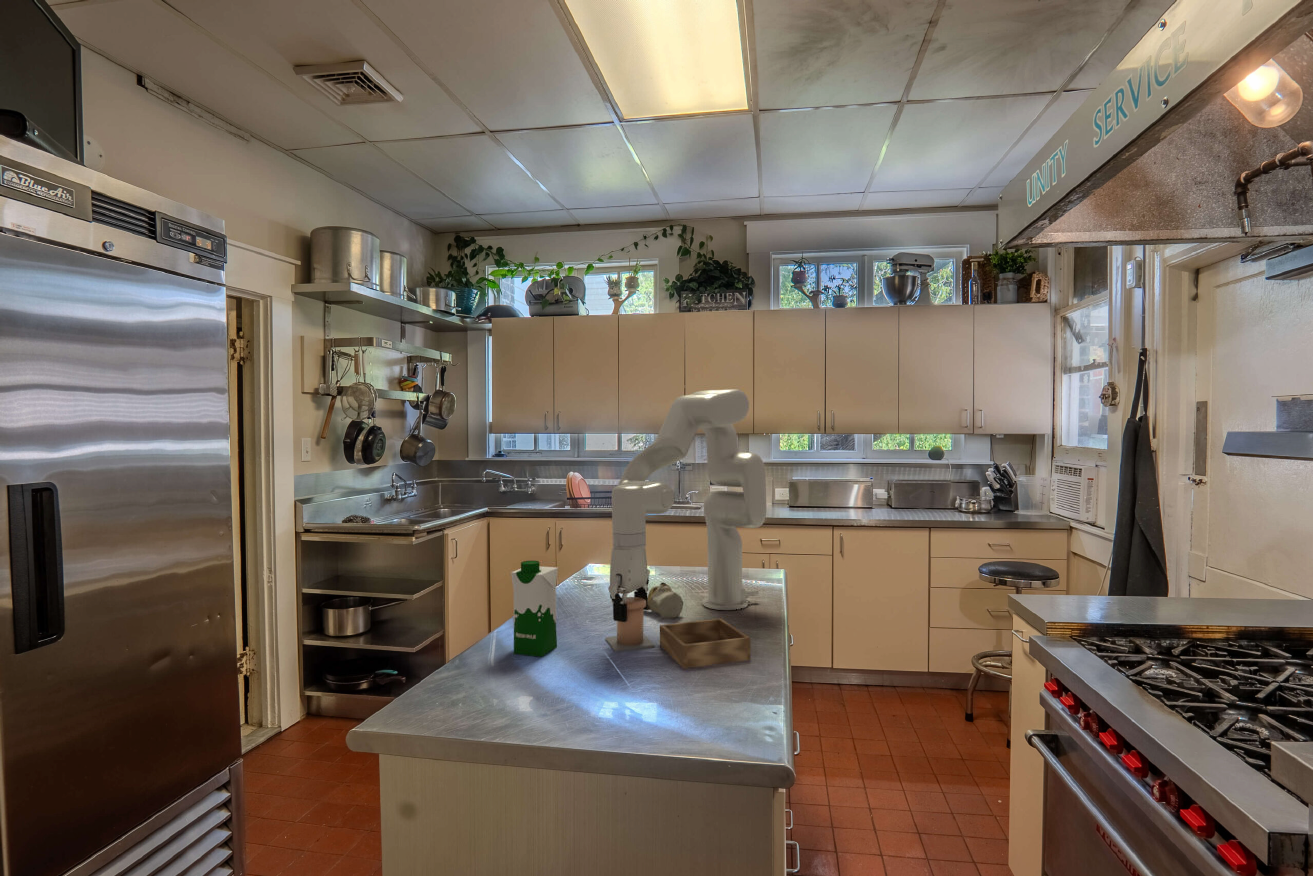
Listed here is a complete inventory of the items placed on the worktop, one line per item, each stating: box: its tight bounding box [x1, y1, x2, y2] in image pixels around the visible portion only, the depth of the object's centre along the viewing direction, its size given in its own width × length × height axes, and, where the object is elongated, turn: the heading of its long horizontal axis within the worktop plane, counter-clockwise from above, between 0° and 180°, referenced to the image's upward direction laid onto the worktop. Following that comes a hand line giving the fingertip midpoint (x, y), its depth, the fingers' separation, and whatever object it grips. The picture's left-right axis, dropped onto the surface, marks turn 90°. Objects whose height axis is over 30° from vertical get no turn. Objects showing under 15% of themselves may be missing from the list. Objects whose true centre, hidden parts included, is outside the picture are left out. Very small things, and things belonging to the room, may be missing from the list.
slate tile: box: [605, 633, 656, 653], centre depth 147 cm, size 9×9×1 cm
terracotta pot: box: [616, 596, 646, 645], centre depth 147 cm, size 7×7×9 cm
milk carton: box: [510, 560, 559, 658], centre depth 144 cm, size 9×9×20 cm
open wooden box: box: [659, 618, 752, 669], centre depth 141 cm, size 15×15×5 cm
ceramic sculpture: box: [645, 581, 684, 620], centre depth 173 cm, size 11×9×15 cm
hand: (630, 614), depth 147 cm, fingers open, 9 cm apart
